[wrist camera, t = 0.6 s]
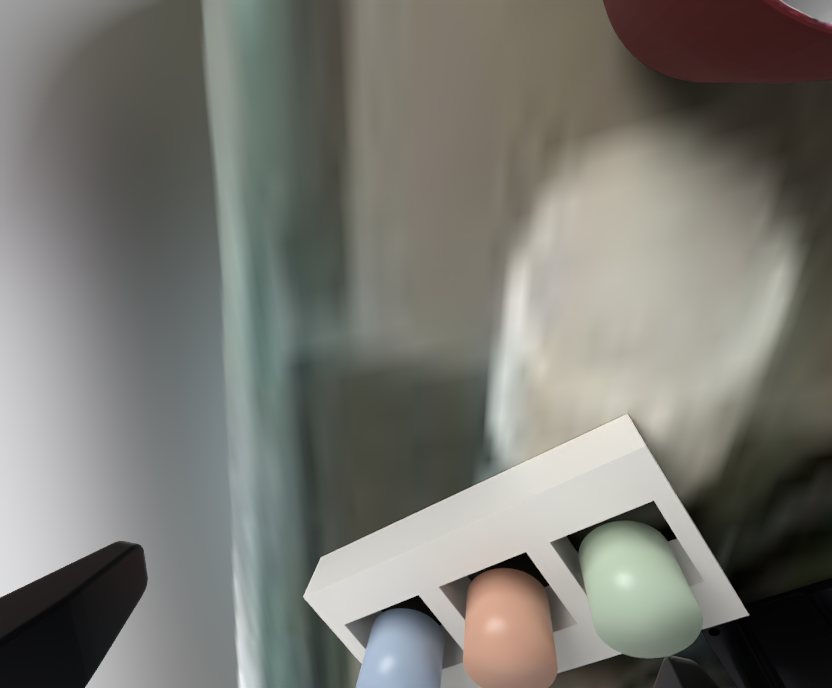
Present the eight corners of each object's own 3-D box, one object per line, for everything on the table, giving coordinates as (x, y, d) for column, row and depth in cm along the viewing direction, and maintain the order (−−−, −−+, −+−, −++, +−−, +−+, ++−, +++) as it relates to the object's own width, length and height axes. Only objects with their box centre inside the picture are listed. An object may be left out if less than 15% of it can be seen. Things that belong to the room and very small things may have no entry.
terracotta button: (563, 614, 21) (575, 683, 18) (493, 638, 22) (493, 706, 19) (521, 556, 20) (526, 618, 17) (451, 584, 21) (445, 647, 18)
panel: (721, 567, 21) (749, 615, 19) (416, 670, 26) (409, 718, 24) (627, 413, 19) (645, 445, 17) (320, 557, 25) (302, 597, 22)
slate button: (459, 650, 22) (454, 718, 20) (399, 671, 23) (386, 738, 21) (417, 598, 22) (406, 660, 19) (357, 622, 23) (338, 684, 20)
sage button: (687, 572, 19) (720, 640, 16) (604, 600, 20) (622, 669, 17) (646, 507, 18) (674, 567, 15) (562, 540, 19) (574, 601, 17)
